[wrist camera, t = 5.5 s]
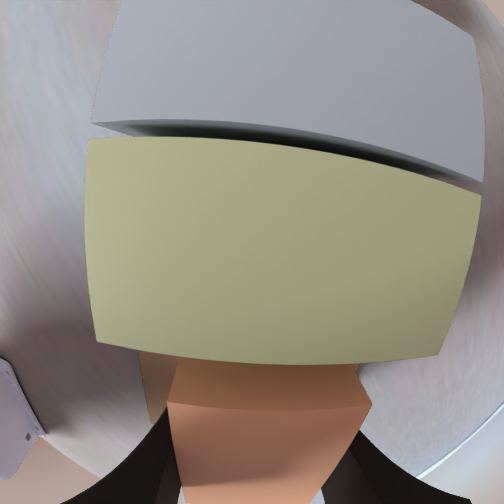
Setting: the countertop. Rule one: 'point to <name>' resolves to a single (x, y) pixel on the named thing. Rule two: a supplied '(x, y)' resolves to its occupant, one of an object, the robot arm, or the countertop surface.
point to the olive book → (270, 252)
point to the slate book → (300, 79)
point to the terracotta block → (261, 428)
